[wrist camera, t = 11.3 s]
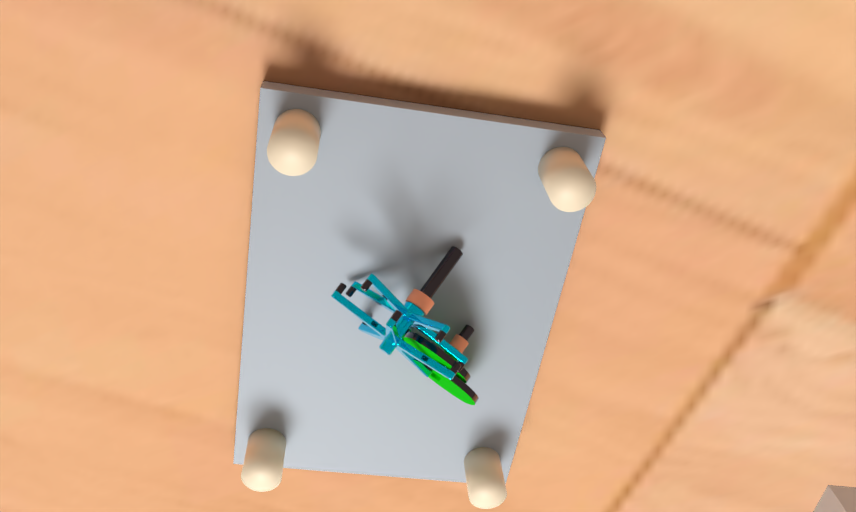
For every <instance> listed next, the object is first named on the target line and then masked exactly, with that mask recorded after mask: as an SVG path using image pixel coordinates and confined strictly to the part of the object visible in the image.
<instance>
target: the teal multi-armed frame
mask: <svg viewBox="0 0 856 512" xmlns="http://www.w3.org/2000/svg"><path fill="white" fill-rule="evenodd" d="M462 255H463V252H462V251H461V250H460V249H458V248H457V247H455V246H452V247H451V248H450V249H449V251H448V252H447V254H446V255H445V256H444V258H443V259H442V260H441V262H440V263H439V265H438V266H437V267H436V269H435V270H434V271H433V273H432V274H431V276H430V277H429V278H428V280H427V281H426V282H425V284H424V285H423V287H422V288H421V289H420V291H419V290H417V289H413V291H412V292H411V293H410V295H409V296H408V297H407V299H406V303H405V304H404V305H403V304H402V303H401V302H400V301H399V300H398V299H397V298H396V297H395V296H394V295H393V294H392V292H391V291H390V290H389V289H388V288H387V287H386V286H385V285H384V284H383V283H382V282H381V281H380V280H379V279H378V278H377V277H376V276H375V275H374V274H370V275H369V276H368V278H367V279H366V280H365V282H364V283H363V284H360V283H358V282H357V281H354V282H353V284H352V285H351V286H350V288H349V289H348V290H347V292H346V293H345V294H346V295H347V296H348V297H352V295H353V294H354V293H355V291H356V290H357V291H358V292H360V293H361V294H363V295H365V296H366V297H368V298H370V299H371V300H373V301H374V302H376V303H378V304H379V305H381V306H382V307H384V308H386V309H387V310H389V311H390V312H392V313H393V315H392V316H391V317H390V319H389V320H388V322H387V323H386V328H385V327H383V326H382V325H381V324H379V323H378V322H377V321H375V320H374V319H373V318H371V317H370V316H369V315H368V314H366V313H365V312H364V311H362V310H361V309H360V308H358V307H357V306H356V305H354V304H353V303H352V302H350V301H349V300H348V299H346V298H345V297H344V296H342V295H341V294H342V293H343V291H344V290H345V289H346V287H347V286H346V285H345V284H344V283H340V285H339V286H338V287H337V288H336V290H335V291H334V292H333V294H332V295H331V297H332V298H333V299H335V300H336V301H337V302H338V303H340V304H341V305H342V306H344V307H345V308H346V309H347V310H349V311H350V312H351V313H353V314H354V315H355V316H356V317H358V318H359V319H360V320H361V321H363V322H362V323H361V325H360V326H359V328H358V329H359V330H360V331H361V332H364V333H366V334H368V335H371V336H373V337H375V338H378V339H380V340H383V341H382V343H381V344H380V346H379V349H380V350H381V351H383V352H384V353H385V354H387V355H391V354H392V352H393V351H394V350H395V348H396V349H397V350H398V351H399V352H400V353H401V354H402V355H403V356H404V357H405V358H406V359H407V360H408V361H409V362H410V363H411V364H413V365H414V366H415V367H416V368H417V369H418V370H419V371H420V372H421V373H422V374H423V375H424V376H426V377H429V378H430V379H431V380H433V381H434V382H435V383H437V384H438V385H439V386H441V387H442V388H443V389H445V390H446V391H448V392H449V393H451V394H452V395H454V396H455V397H457V398H458V399H460V400H461V401H463V402H465V403H467V404H470V405H475V404H476V402H477V401H478V399H479V397H478V396H477V394H476V393H475V392H474V391H473V390H472V389H471V388H470V387H469V386H468V385H467V384H465V383H467V382H468V380H469V379H470V378H471V376H470V374H469V373H468V372H467V371H466V369H465V368H464V365H465V364H466V363H467V361H468V358H467V357H465V356H464V355H463V354H462V353H463V351H464V350H465V348H466V347H467V345H468V344H469V343H468V339H469V338H470V336H471V335H472V334H473V332H474V328H472V327H471V326H470V325H465V327H464V328H463V329H462V331H461V332H460V334H459V335H457V334H456V335H455V336H454V338H453V339H452V340H451V342H450V343H448V342H447V341H445V340H444V337H445V336H446V334H447V333H448V332H449V330H450V327H449V326H448V325H446V324H443V323H440V322H438V321H435V320H432V319H429V318H426V317H424V315H427V314H428V312H429V311H430V309H431V308H432V307H433V305H434V302H433V300H432V299H431V298H432V297H433V295H434V294H435V293H436V291H437V290H438V289H439V287H440V286H441V284H442V283H443V282H444V280H445V279H446V277H447V276H448V275H449V273H450V272H451V271H452V269H453V268H454V266H455V265H456V264H457V262H458V261H459V259H460V258H461V257H462ZM371 285H372V286H373V287H374V288H375V289H376V290H377V291H378V292H379V293H380V294H381V295H382V296H383V297H382V296H381V295H379V294H377V293H375V292H374V291H372V290H370V289H369V288H370V286H371ZM414 328H416V329H417V330H418V331H420V332H421V333H422V334H424V335H425V336H426V337H428V338H429V339H430V340H432V341H433V342H434V343H436V344H437V345H438V346H439V347H441V348H442V349H443V350H444V351H443V350H441V349H440V348H439V347H437V346H436V345H434V344H433V343H431V342H430V341H428V340H427V339H425V338H423V337H422V336H420V335H418V334H417V333H414ZM433 330H434V331H437V332H438V334H436V333H435V332H434V331H433ZM457 360H458V361H459V362H457Z"/></svg>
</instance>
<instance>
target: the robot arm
mask: <svg viewBox="0 0 856 512" xmlns="http://www.w3.org/2000/svg"><path fill="white" fill-rule="evenodd" d="M813 512H856V488H855V487H844V486H833V485H828V486H827V488H826V490H825V491H824V493H823V495H822V497H821V499H820V500H819V502H818V504H817V506H816V507H815V509H814V511H813Z"/></svg>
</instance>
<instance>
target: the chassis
mask: <svg viewBox="0 0 856 512" xmlns="http://www.w3.org/2000/svg"><path fill="white" fill-rule="evenodd" d="M605 139H606V137H605V136H604V135H603V133H602V132H601V131H600V130H596V129H589V128H582V127H576V126H569V125H562V124H555V123H548V122H541V121H535V120H528V119H521V118H514V117H507V116H500V115H493V114H487V113H480V112H473V111H466V110H459V109H452V108H445V107H439V106H432V105H425V104H418V103H411V102H404V101H397V100H391V99H384V98H377V97H370V96H363V95H356V94H349V93H343V92H336V91H329V90H322V89H315V88H308V87H302V86H295V85H288V84H281V83H274V82H267V81H263V83H262V85H261V88H260V102H259V116H258V130H257V144H256V157H255V171H254V185H253V199H252V213H251V227H250V241H249V255H248V269H247V283H246V297H245V310H244V324H243V338H242V352H241V366H240V380H239V394H238V408H237V422H236V436H235V450H234V463H233V464H243V469H242V474H241V479H242V481H243V483H244V484H245V485H246V486H247V487H248V488H250V489H252V490H254V491H260V492H265V491H270V490H272V489H274V488H276V487H277V486H278V485H279V484H280V482H281V479H282V472H283V468H293V469H305V470H317V471H330V472H342V473H354V474H367V475H379V476H391V477H404V478H416V479H428V480H441V481H453V482H465V483H467V488H468V495H469V500H470V502H471V503H472V504H473V505H474V506H476V507H478V508H482V509H490V508H494V507H497V506H499V505H500V504H501V503H503V501H504V500H505V499H506V496H507V491H506V486H505V484H506V480H507V477H508V473H509V470H510V467H511V463H512V460H513V456H514V453H515V449H516V446H517V442H518V439H519V436H520V432H521V429H522V425H523V422H524V418H525V415H526V411H527V408H528V405H529V401H530V398H531V394H532V391H533V387H534V384H535V380H536V377H537V374H538V370H539V367H540V363H541V360H542V356H543V353H544V349H545V346H546V343H547V339H548V336H549V332H550V329H551V325H552V322H553V318H554V315H555V312H556V308H557V305H558V301H559V298H560V294H561V291H562V287H563V284H564V281H565V277H566V274H567V270H568V267H569V263H570V260H571V256H572V253H573V250H574V246H575V243H576V239H577V236H578V232H579V229H580V225H581V222H582V219H583V215H584V212H585V208H586V206H588V205H589V204H590V202H591V201H592V200H593V198H594V196H595V193H596V182H595V180H594V177H595V174H596V170H597V167H598V163H599V160H600V157H601V153H602V150H603V146H604V143H605ZM452 246H455V247H457V248H458V249H460V250H461V251H462V252H463V255H462V257H461V258H460V259H459V261H458V262H457V264H456V265H455V266H454V268H453V269H452V271H451V272H450V273H449V275H448V276H447V277H446V279H445V280H444V282H443V283H442V284H441V286H440V287H439V289H438V290H437V291H436V293H435V294H434V295H433V297H432V298H431V299H432V300H433V302H434V305H433V307H432V308H431V309H430V311H429V312H428V314H427V315H424V317H426V318H429V319H432V320H435V321H438V322H440V323H443V324H446V325H448V326H449V327H450V330H449V332H448V333H447V334H446V336H445V337H444V340H445V341H447V342H448V343H450V342H451V340H452V339H453V338H454V336H455V335H456V334H457V335H459V334H460V332H461V331H462V329H463V328H464V327H465V325H470V326H471V327H472V328H474V332H473V334H472V335H471V336H470V338H469V339H468V343H469V344H468V345H467V347H466V348H465V350H464V351H463V353H462V354H463V355H464V356H465V357H467V358H468V361H467V363H466V364H465V365H464V368H465V369H466V371H467V372H468V373H469V374H470V376H471V378H470V379H469V380H468V382H467V383H465V384H467V385H468V386H469V387H470V388H471V389H472V390H473V391H474V392H475V393H476V394H477V396H478V397H479V399H478V401H477V402H476V404H475V405H470V404H467V403H465V402H463V401H461V400H460V399H458V398H457V397H455V396H454V395H452V394H451V393H449V392H448V391H446V390H445V389H443V388H442V387H441V386H439V385H438V384H437V383H435V382H434V381H433V380H431V379H430V378H429V377H426V376H424V375H423V374H422V373H421V372H420V371H419V370H418V369H417V368H416V367H415V366H414V365H413V364H411V363H410V362H409V361H408V360H407V359H406V358H405V357H404V356H403V355H402V354H401V353H400V352H399V351H398V350H397V349H396V348H395V350H394V351H393V352H392V354H391V355H387V354H385V353H384V352H383V351H381V350H380V349H379V346H380V344H381V343H382V341H383V340H380V339H378V338H375V337H373V336H371V335H368V334H366V333H364V332H361V331H360V330H359V329H358V328H359V326H360V325H361V323H362V322H363V321H361V320H360V319H359V318H358V317H356V316H355V315H354V314H353V313H351V312H350V311H349V310H347V309H346V308H345V307H344V306H342V305H341V304H340V303H338V302H337V301H336V300H335V299H333V298H332V297H331V295H332V294H333V292H334V291H335V290H336V288H337V287H338V286H339V285H340V283H344V284H345V285H346V286H347V287H346V289H345V290H344V291H343V293H342V294H341V295H342V296H344V297H345V298H346V299H348V300H349V301H350V302H352V303H353V304H354V305H356V306H357V307H358V308H360V309H361V310H362V311H364V312H365V313H366V314H368V315H369V316H370V317H371V318H373V319H374V320H375V321H377V322H378V323H379V324H381V325H382V326H383V327H385V328H386V323H387V322H388V320H389V319H390V317H391V316H392V315H393V313H392V312H390V311H389V310H387V309H386V308H384V307H382V306H381V305H379V304H378V303H376V302H374V301H373V300H371V299H370V298H368V297H366V296H365V295H363V294H361V293H360V292H358V291H357V290H356V291H355V293H354V294H353V295H352V297H348V296H347V295H346V294H345V293H346V292H347V290H348V289H349V288H350V286H351V285H352V284H353V282H354V281H357V282H358V283H360V284H363V283H364V282H365V280H366V279H367V278H368V276H369V275H370V274H374V275H375V276H376V277H377V278H378V279H379V280H380V281H381V282H382V283H383V284H384V285H385V286H386V287H387V288H388V289H389V290H390V291H391V292H392V294H393V295H394V296H395V297H396V298H397V299H398V300H399V301H400V302H401V303H402V304H403V305H404V304H405V303H406V299H407V297H408V296H409V295H410V293H411V292H412V291H413V289H417V290H419V291H420V289H421V288H422V287H423V285H424V284H425V282H426V281H427V280H428V278H429V277H430V276H431V274H432V273H433V271H434V270H435V269H436V267H437V266H438V265H439V263H440V262H441V260H442V259H443V258H444V256H445V255H446V254H447V252H448V251H449V249H450V248H451V247H452ZM369 289H370V290H372V291H374V292H375V293H377V294H379V295H381V294H380V293H379V292H378V291H377V290H376V289H375V288H374V287H373V286H372V285H371V286H370V288H369ZM381 296H382V295H381ZM382 297H383V296H382ZM433 331H434V330H433ZM434 332H435V333H436V334H438V332H437V331H434ZM414 333H417V334H418V335H420V336H422V337H423V338H425V339H427V340H428V341H430V342H431V343H433V344H434V345H436V346H437V347H439V346H438V345H437V344H436V343H434V342H433V341H432V340H430V339H429V338H428V337H426V336H425V335H424V334H422V333H421V332H420V331H418V330H417V329H416V328H414ZM439 348H440V349H441V350H443V349H442V348H441V347H439ZM443 351H444V350H443ZM457 362H459V361H458V360H457Z"/></svg>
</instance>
